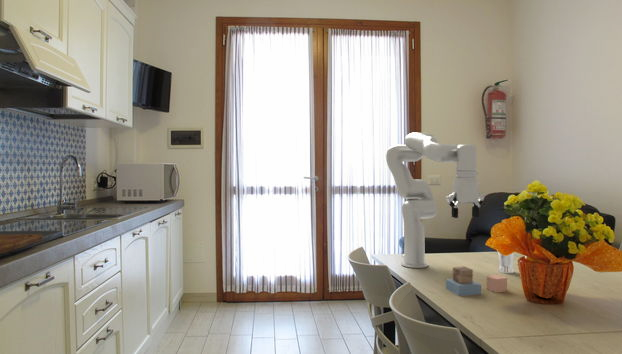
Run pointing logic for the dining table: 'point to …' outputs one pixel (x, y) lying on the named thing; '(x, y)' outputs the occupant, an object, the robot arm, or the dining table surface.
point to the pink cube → (496, 283)
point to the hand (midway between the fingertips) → (465, 217)
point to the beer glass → (506, 263)
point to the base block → (463, 288)
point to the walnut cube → (462, 275)
